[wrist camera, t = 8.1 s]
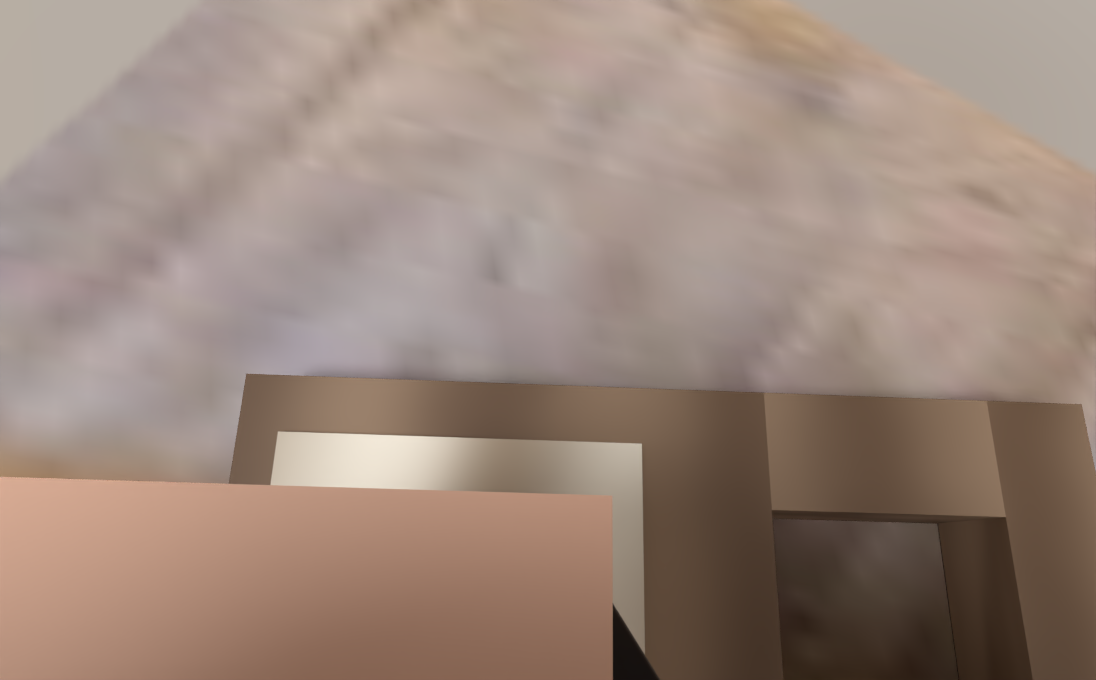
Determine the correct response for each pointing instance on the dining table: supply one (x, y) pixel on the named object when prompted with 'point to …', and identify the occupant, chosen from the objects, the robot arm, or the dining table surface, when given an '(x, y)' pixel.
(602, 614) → the terracotta peg
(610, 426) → the walnut pocket board
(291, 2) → the dining table surface
